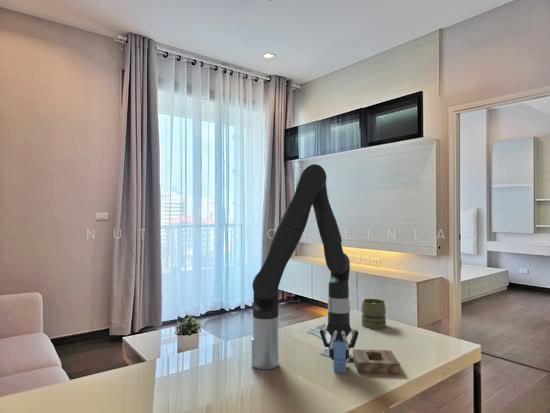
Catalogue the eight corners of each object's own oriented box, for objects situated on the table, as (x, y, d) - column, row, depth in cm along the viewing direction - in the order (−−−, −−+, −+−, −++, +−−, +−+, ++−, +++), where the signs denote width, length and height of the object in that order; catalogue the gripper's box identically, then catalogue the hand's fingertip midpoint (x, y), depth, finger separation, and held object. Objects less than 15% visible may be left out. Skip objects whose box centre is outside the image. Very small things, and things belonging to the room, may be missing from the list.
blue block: (334, 373, 116) (334, 343, 117) (332, 363, 125) (332, 335, 126) (346, 374, 116) (346, 344, 116) (343, 363, 125) (343, 335, 125)
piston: (360, 302, 167) (363, 297, 177) (360, 327, 166) (363, 321, 177) (384, 304, 163) (386, 299, 173) (385, 330, 162) (386, 324, 173)
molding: (358, 363, 126) (358, 355, 126) (325, 364, 125) (325, 356, 125) (328, 327, 168) (328, 321, 169) (303, 328, 167) (303, 322, 167)
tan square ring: (357, 372, 117) (357, 362, 117) (352, 358, 129) (352, 349, 129) (400, 374, 116) (400, 363, 116) (391, 360, 128) (391, 350, 128)
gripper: (357, 307, 124) (357, 355, 124) (317, 306, 126) (318, 354, 125) (360, 313, 117) (361, 364, 116) (318, 312, 118) (319, 362, 117)
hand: (338, 358), depth 121 cm, fingers closed on blue block, 4 cm apart
